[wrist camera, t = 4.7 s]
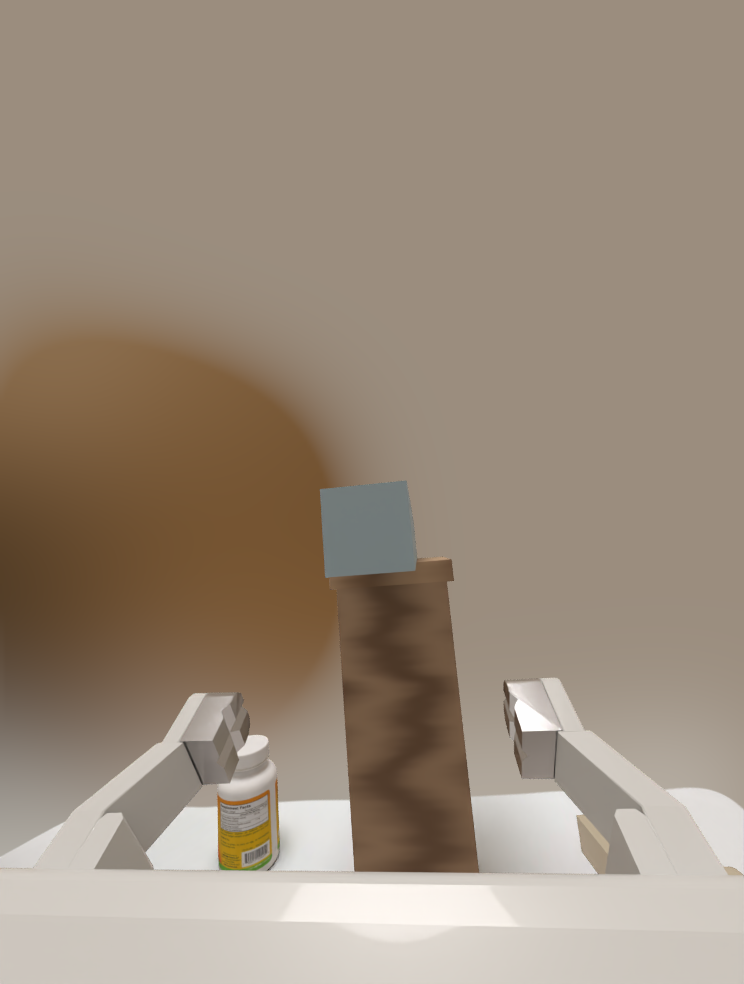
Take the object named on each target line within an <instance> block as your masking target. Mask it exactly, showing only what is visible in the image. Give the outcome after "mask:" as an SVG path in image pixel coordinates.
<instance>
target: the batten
mask: <svg viewBox="0 0 744 984" xmlns="http://www.w3.org/2000/svg"><path fill="white" fill-rule="evenodd" d="M320 496H321V512H322V530H323V546H324V562H325V577H340V576H353V575H366V574H379V573H392V572H406V571H415V569H416V562H417V552H416V541H415V531H414V522H413V517H412V510H411V504H410V498H409V493H408V487H407V481H398V482H388V483H378V484H369V485H358V486H349V487H339V488H329V489H320Z"/></svg>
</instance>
